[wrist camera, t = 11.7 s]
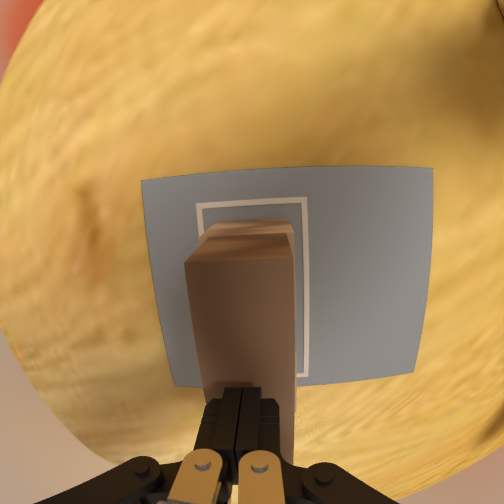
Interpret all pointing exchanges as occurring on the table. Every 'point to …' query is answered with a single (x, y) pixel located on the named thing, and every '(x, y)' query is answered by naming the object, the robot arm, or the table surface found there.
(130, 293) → the table surface
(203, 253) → the lintel
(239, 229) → the tan wooden cube
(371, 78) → the table surface
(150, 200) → the board
